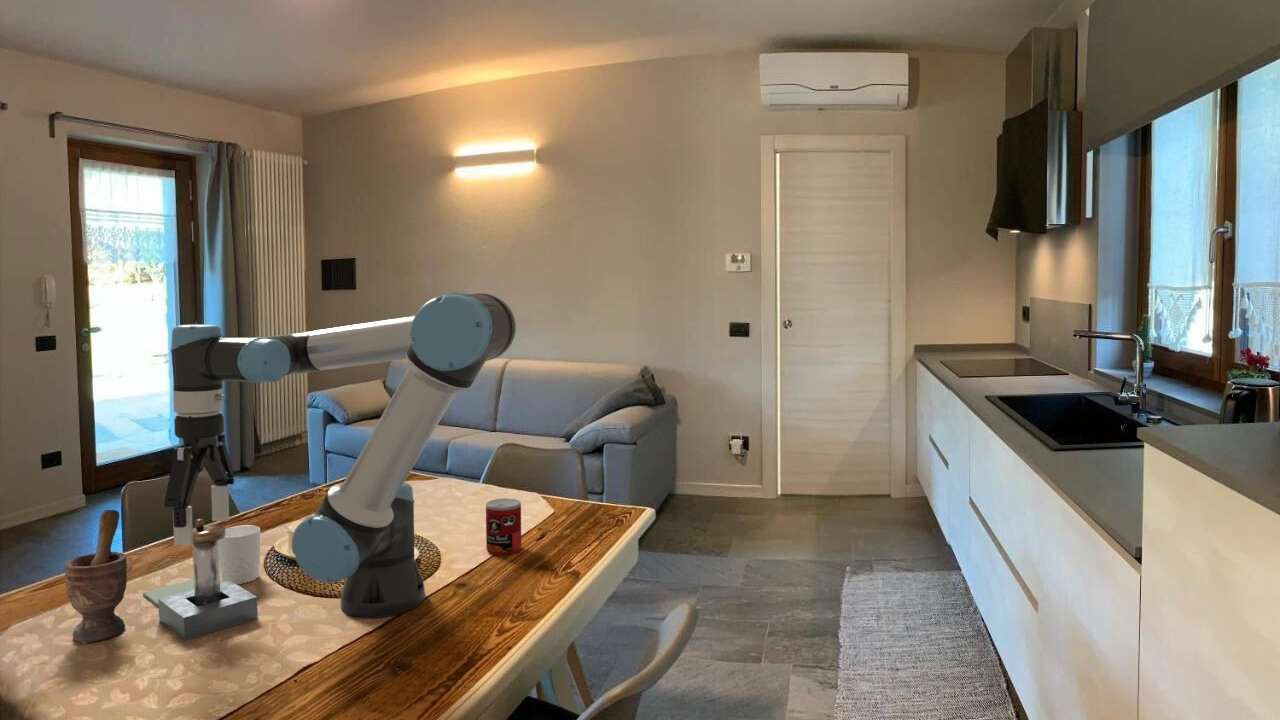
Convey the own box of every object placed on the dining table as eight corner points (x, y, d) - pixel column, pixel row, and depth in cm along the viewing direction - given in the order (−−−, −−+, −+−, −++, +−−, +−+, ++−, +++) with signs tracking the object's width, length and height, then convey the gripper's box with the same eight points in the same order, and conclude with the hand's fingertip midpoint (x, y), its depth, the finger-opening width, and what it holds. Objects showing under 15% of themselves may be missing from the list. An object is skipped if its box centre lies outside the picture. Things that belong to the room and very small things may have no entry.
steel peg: (235, 618, 140) (230, 521, 138) (196, 630, 135) (191, 530, 134) (220, 609, 144) (216, 514, 142) (182, 620, 139) (177, 522, 138)
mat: (219, 593, 151) (219, 590, 151) (161, 609, 144) (161, 606, 144) (199, 580, 158) (199, 577, 158) (143, 595, 150) (142, 592, 150)
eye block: (257, 618, 140) (256, 596, 140) (184, 640, 131) (183, 617, 131) (230, 600, 148) (229, 580, 148) (159, 620, 139) (158, 598, 139)
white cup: (244, 587, 154) (242, 538, 154) (209, 584, 156) (207, 535, 155) (270, 573, 162) (268, 526, 161) (237, 570, 164) (235, 524, 163)
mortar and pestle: (71, 623, 138) (64, 512, 136) (129, 612, 142) (124, 505, 140) (67, 649, 128) (60, 530, 126) (130, 636, 133) (124, 521, 131)
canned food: (479, 553, 175) (479, 505, 174) (498, 542, 183) (498, 496, 182) (509, 558, 173) (508, 509, 172) (527, 547, 180) (527, 500, 179)
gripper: (185, 426, 124) (190, 556, 126) (251, 402, 149) (254, 511, 151) (136, 425, 124) (141, 556, 126) (210, 402, 148) (214, 511, 150)
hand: (203, 532), depth 138 cm, fingers open, 13 cm apart
